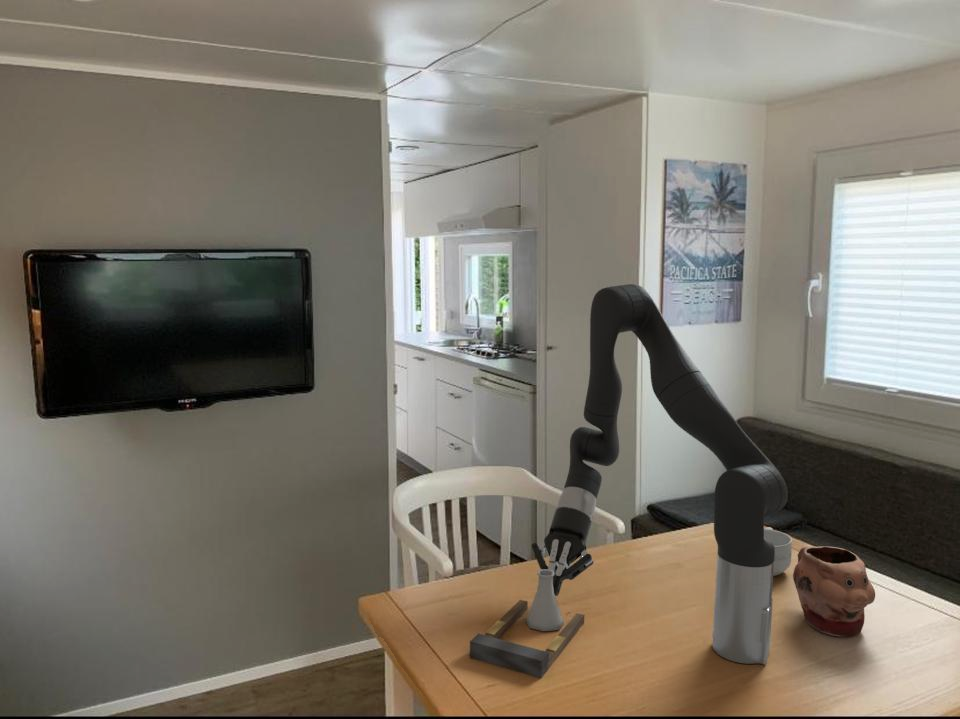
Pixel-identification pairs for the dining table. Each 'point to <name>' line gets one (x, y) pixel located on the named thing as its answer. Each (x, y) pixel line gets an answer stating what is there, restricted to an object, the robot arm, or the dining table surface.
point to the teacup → (780, 549)
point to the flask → (545, 605)
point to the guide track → (516, 654)
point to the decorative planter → (833, 589)
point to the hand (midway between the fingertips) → (549, 596)
